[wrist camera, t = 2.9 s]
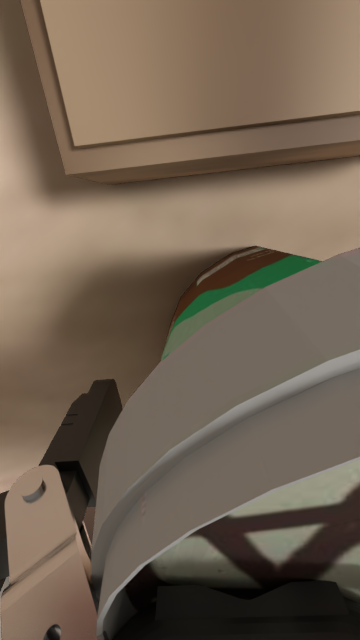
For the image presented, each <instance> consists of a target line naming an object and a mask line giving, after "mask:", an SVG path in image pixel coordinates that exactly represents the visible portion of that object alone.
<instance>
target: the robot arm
mask: <svg viewBox="0 0 360 640" xmlns="http://www.w3.org/2000/svg"><path fill="white" fill-rule="evenodd" d="M122 410H123V409H122V404H121V400H120V397H119V393H118V389H117V385H116V382H115V380H114V379H106V380H95V381H94V382H93V384H92V386H91V388H90V390H89V392H88V393H87V394H82V395H81V396H80V397H79V398H78V399H77V400H75V401H74V402H73V403H72V405H71V407H70V409H69V411H68V412H67V414H66V417H65V418H64V420H63V422H62V424H61V426H60V427H59V429H58V431H57V433H56V435H55V436H54V438H53V440H52V442H51V444H50V446H49V448H48V449H47V451H46V453H45V455H44V457H43V459H42V460H41V462H40V464H39V466H38V467H35V468H33V469H31V470H29V471H28V472H26V473H25V474H23V475H22V476H21V477H20V478H19V479H18V480H17V481H16V482H15V483H14V484H13V486H12V487H11V488H10V490H8V491H6V492H3V493H1V494H0V591H1V588H2V586H3V584H4V581H5V579H6V577H8V576H10V582H9V586H8V587H7V588H6V589H4V591H3V593H2V596H1V604H0V615H1V616H0V617H1V640H109V638H108V635H107V632H106V631H105V630H104V632H103V633H102V634H100V635H98V636H96V626H97V616H98V609H99V601H98V598H97V595H96V591H95V589H94V587H93V584H92V581H91V553H92V545H91V542H90V539H89V536H88V533H87V530H86V527H85V524H84V522H83V519H84V516H85V513H86V509H87V507H96V500H97V489H98V479H99V468H100V463H101V460H102V456H103V453H104V449H105V446H106V442H107V439H108V435H109V433H110V431H111V430H112V428H113V426H114V424H115V422H116V421H117V419H118V417H119V415H120V413H121V412H122ZM112 640H360V604H358V603H356V602H354V601H352V600H349V599H347V598H344V597H342V595H341V592H340V590H339V588H338V585H337V583H336V582H332V581H308V582H290V583H288V584H285V585H283V586H281V587H279V588H276V589H274V590H272V591H270V592H267V593H265V594H263V595H261V596H259V597H256V598H254V599H252V600H243V599H240V598H237V597H234V596H231V595H228V594H225V593H222V592H219V591H216V590H213V589H210V588H207V587H204V586H201V585H185V586H157V600H156V601H155V602H153V603H150V604H149V605H147V606H146V607H144V608H142V609H141V610H139V611H138V612H137V613H136V614H135V615H134V616H132V617H131V618H130V619H129V620H128V621H127V622H126V623H125V624H124V625H123V627H122V628H121V629H120V630H119V631H118V632H117V634H116V635H115V637H114V638H113V639H112Z"/></svg>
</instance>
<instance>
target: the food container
mask: <svg viewBox="0 0 360 640" xmlns="http://www.w3.org/2000/svg"><path fill="white" fill-rule="evenodd" d="M91 581H92V584H93V587H94V589H95V591H96V595H97V598H98V601H99V609H98V616H97V626H96V636H98V635H100V634H102V633H103V632H104V630H105V631H106V632H107V635H108V638H109V640H112V639H113V638H114V637H115V635H116V634H117V632H118V631H119V630H120V629H121V628H122V627H123V625H124V624H125V623H126V622H127V621H128V620H129V619H130V618H131V617H132V616H134V615H135V614H136V613H137V612H138V611H139V610H141V609H142V608H144V607H146V606H147V605H149V604H150V603H153V602H155V601H156V600H157V586H185V585H201V586H204V587H207V588H210V589H213V590H216V591H219V592H222V593H225V594H228V595H231V596H234V597H237V598H240V599H243V600H252V599H254V598H256V597H259V596H261V595H263V594H265V593H267V592H270V591H272V590H274V589H276V588H279V587H281V586H283V585H285V584H288V583H290V582H308V581H332V582H336V583H337V585H338V588H339V590H340V592H341V595H342V597H344V598H347V599H349V600H352V601H354V602H356V603H358V604H360V248H358V249H354V250H351V251H348V252H344V253H341V254H338V255H336V256H334V257H332V258H329V259H327V260H325V261H318V260H314V259H310V258H306V257H301V256H297V255H293V254H288V253H284V252H280V251H276V250H271V249H267V248H263V247H258V246H254V247H251V248H248V249H244V250H241V251H238V252H235V253H232V254H230V255H228V256H227V257H225V258H223V259H222V260H220V261H219V262H217V263H216V264H214V265H213V266H211V267H210V268H208V269H207V270H205V271H203V272H202V273H201V274H200V275H199V276H198V277H197V278H196V280H195V281H194V282H193V283H192V284H191V286H190V287H189V288H188V289H187V290H186V292H185V293H184V294H183V295H182V296H181V298H180V301H179V303H178V306H177V308H176V311H175V314H174V316H173V319H172V321H171V324H170V328H169V332H168V335H167V339H166V343H165V346H164V350H163V354H162V357H161V361H160V363H159V364H158V365H157V366H156V368H155V369H154V370H153V371H152V372H151V373H150V375H149V376H148V377H147V378H146V379H145V381H144V382H143V383H142V384H141V385H140V386H139V388H138V389H137V390H136V391H135V392H134V394H133V395H132V396H131V397H130V398H129V399H128V401H127V403H126V404H125V406H124V408H123V410H122V412H121V413H120V415H119V417H118V419H117V421H116V422H115V424H114V426H113V428H112V430H111V431H110V433H109V435H108V439H107V442H106V446H105V449H104V453H103V456H102V460H101V463H100V468H99V479H98V489H97V500H96V511H95V521H94V533H93V543H92V553H91Z"/></svg>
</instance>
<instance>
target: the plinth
mask: <svg viewBox="0 0 360 640" xmlns="http://www.w3.org/2000/svg"><path fill="white" fill-rule="evenodd" d="M20 2H21V6H22V9H23V13H24V17H25V21H26V25H27V29H28V32H29V36H30V40H31V44H32V48H33V52H34V55H35V59H36V63H37V67H38V71H39V75H40V78H41V82H42V86H43V90H44V94H45V98H46V101H47V105H48V109H49V113H50V117H51V121H52V124H53V128H54V132H55V136H56V140H57V143H58V147H59V151H60V155H61V159H62V163H63V166H64V170H65V174H66V175H69V176H73V177H77V178H82V179H86V180H91V181H95V182H100V183H104V184H109V185H110V184H118V183H127V182H136V181H144V180H153V179H162V178H170V177H179V176H188V175H196V174H205V173H214V172H223V171H231V170H240V169H249V168H257V167H266V166H275V165H283V164H292V163H301V162H309V161H318V160H327V159H335V158H344V157H353V156H360V0H20Z"/></svg>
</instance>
